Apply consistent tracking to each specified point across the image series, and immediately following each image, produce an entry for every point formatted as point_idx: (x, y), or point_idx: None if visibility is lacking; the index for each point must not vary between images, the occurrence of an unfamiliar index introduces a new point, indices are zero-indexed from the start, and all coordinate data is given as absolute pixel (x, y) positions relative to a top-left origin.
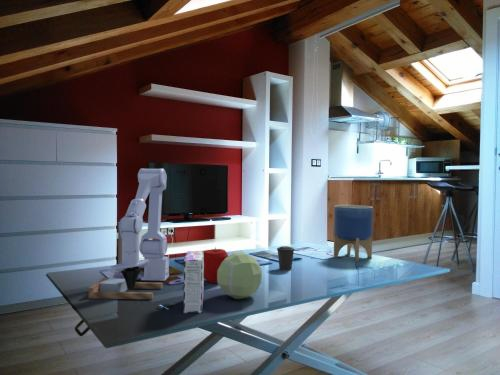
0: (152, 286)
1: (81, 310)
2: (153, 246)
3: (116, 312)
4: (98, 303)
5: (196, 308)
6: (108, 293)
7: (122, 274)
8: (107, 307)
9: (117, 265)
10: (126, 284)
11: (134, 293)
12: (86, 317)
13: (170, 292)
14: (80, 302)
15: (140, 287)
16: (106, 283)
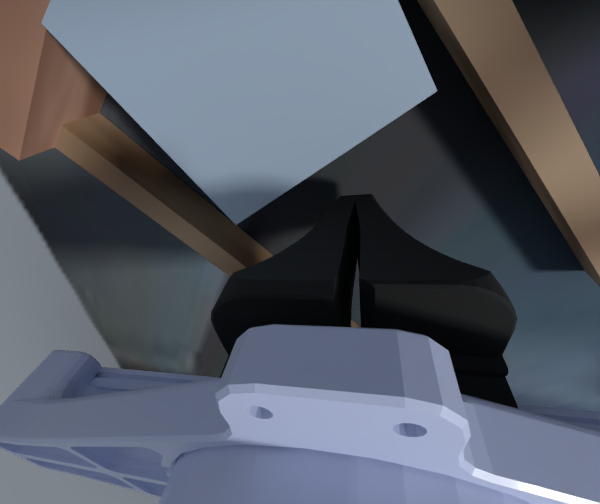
0: (567, 236)
1: (65, 270)
2: None
3: (193, 354)
4: (131, 242)
5: None
6: (171, 227)
7: (268, 260)
8: (169, 306)
9: (87, 447)
10: (329, 211)
11: None
12: (98, 329)
13: (531, 343)
14: (25, 161)
15: (511, 148)
16: (129, 114)
